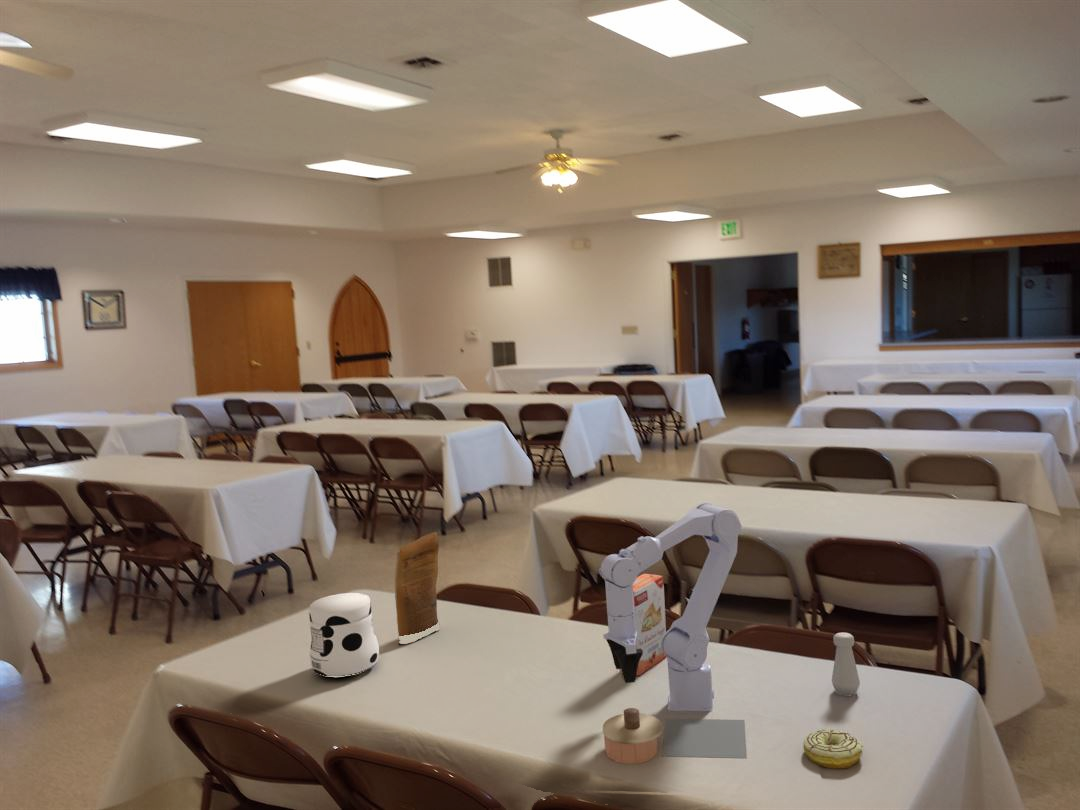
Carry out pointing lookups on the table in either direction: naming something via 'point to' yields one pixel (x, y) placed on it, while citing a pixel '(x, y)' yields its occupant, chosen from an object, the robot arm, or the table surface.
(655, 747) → the bowl
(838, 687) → the salt shaker
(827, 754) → the decorated donut
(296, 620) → the table surface
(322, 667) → the milk container
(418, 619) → the pancake mix bag
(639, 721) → the lid
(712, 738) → the mat
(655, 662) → the cracker box
